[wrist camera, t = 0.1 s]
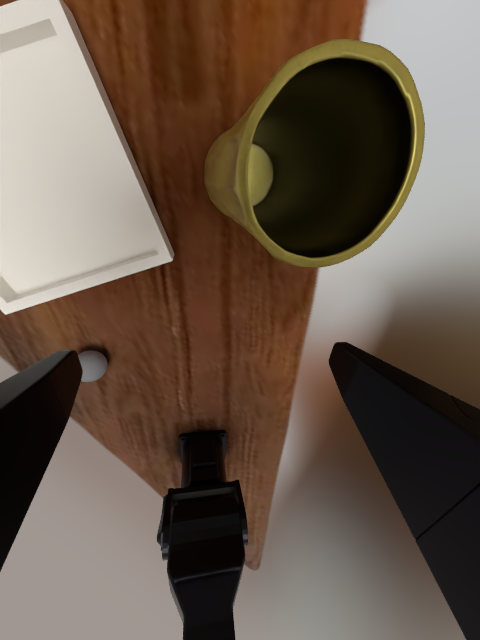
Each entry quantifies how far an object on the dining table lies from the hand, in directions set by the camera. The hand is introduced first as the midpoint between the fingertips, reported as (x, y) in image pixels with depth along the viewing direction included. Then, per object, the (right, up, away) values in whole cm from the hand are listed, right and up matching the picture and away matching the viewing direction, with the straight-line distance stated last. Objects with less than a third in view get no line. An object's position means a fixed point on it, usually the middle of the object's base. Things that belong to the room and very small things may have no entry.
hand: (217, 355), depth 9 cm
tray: (-13, +10, +9) cm, 19 cm away
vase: (+1, +12, +10) cm, 16 cm away
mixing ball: (-14, -3, +15) cm, 20 cm away
